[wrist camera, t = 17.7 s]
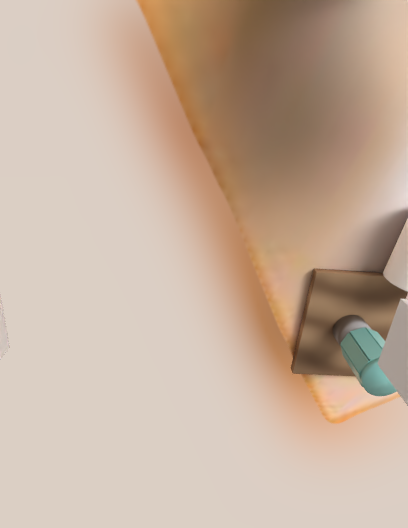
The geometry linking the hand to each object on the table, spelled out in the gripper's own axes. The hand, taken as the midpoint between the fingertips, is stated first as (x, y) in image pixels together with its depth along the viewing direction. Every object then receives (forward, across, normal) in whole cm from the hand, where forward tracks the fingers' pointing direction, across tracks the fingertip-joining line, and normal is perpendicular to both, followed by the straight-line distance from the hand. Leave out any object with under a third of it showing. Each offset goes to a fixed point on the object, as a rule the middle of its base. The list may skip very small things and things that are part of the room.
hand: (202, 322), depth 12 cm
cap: (+30, +25, -22) cm, 45 cm away
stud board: (+35, +25, -22) cm, 48 cm away
